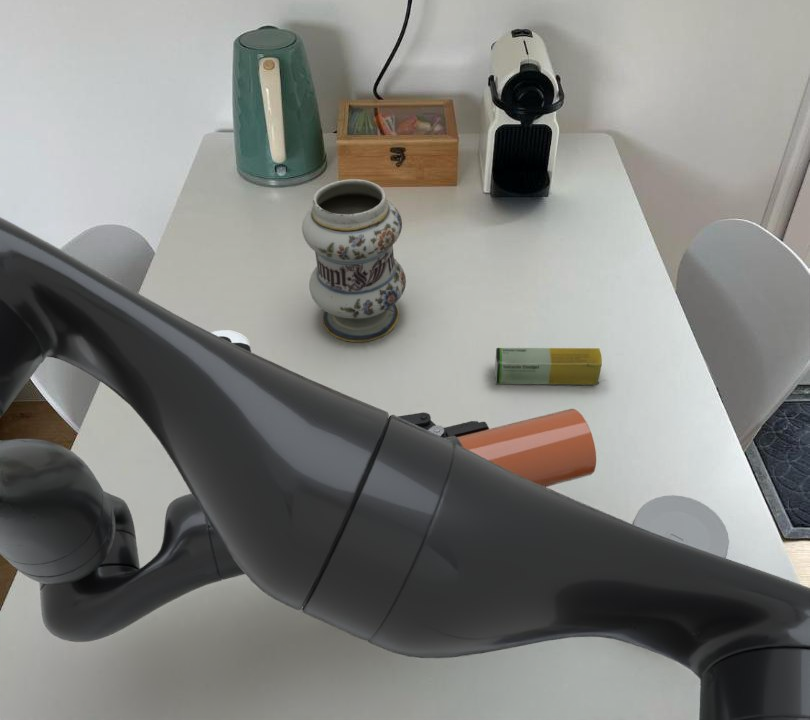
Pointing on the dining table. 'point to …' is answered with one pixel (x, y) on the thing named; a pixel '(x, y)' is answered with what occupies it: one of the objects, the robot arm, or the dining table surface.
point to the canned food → (684, 523)
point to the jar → (538, 447)
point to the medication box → (548, 366)
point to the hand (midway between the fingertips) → (501, 461)
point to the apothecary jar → (355, 259)
